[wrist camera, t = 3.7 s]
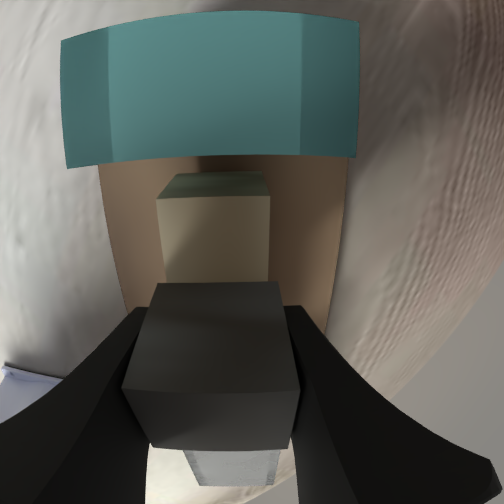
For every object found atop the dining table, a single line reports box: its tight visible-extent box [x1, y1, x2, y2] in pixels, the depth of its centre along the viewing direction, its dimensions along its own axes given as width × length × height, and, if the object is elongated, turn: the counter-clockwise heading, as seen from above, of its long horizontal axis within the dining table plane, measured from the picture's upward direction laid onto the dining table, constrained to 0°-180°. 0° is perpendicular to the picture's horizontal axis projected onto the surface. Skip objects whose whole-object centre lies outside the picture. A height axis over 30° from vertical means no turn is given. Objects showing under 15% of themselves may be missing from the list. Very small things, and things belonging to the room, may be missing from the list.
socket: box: [60, 11, 360, 169], centre depth 8 cm, size 6×3×6 cm, turn 90°
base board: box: [98, 154, 349, 334], centre depth 15 cm, size 10×23×1 cm, turn 0°
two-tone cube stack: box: [121, 171, 300, 451], centre depth 11 cm, size 4×14×7 cm, turn 0°
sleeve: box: [183, 449, 281, 486], centre depth 16 cm, size 5×8×5 cm, turn 0°
